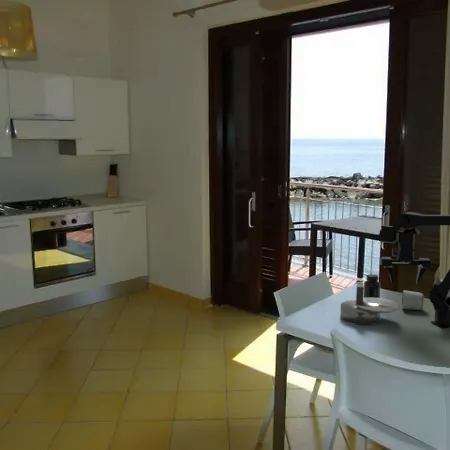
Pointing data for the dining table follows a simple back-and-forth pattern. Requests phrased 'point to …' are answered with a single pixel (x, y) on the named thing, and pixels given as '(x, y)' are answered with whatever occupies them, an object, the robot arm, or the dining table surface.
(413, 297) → the grey rounded block
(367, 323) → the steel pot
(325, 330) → the dining table surface
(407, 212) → the robot arm
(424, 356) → the dining table surface
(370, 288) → the supplement bottle
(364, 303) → the grey disc with post
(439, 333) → the dining table surface
